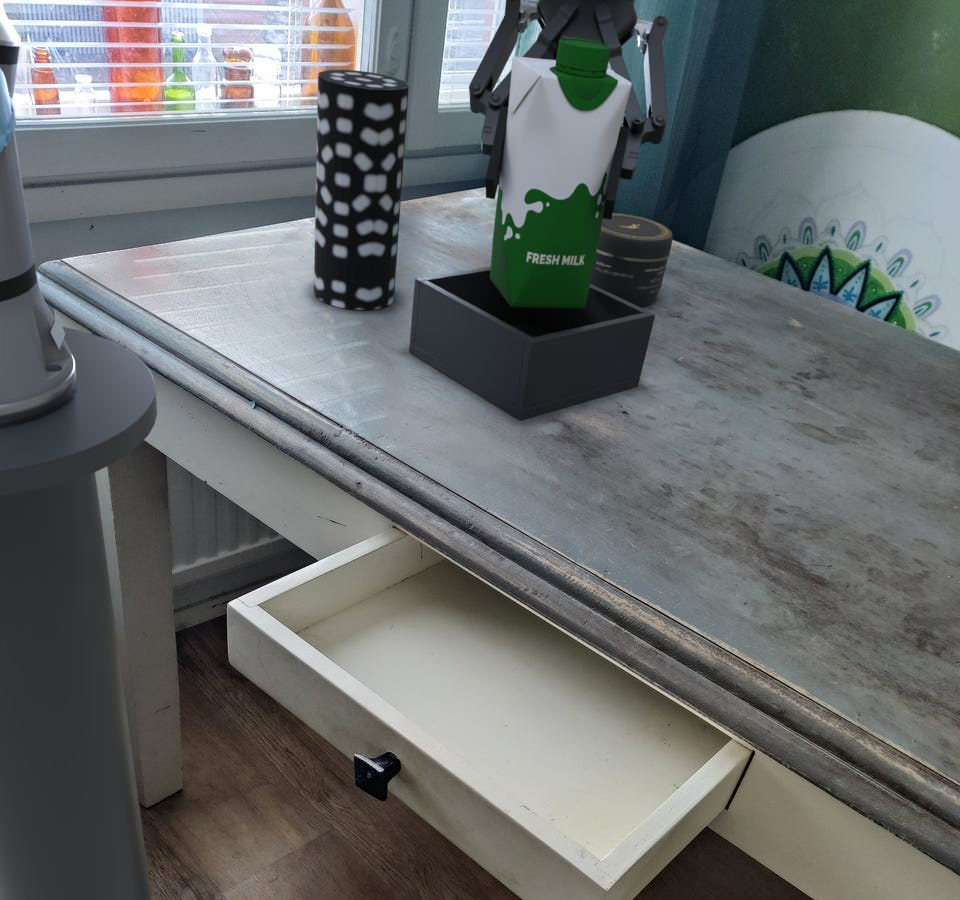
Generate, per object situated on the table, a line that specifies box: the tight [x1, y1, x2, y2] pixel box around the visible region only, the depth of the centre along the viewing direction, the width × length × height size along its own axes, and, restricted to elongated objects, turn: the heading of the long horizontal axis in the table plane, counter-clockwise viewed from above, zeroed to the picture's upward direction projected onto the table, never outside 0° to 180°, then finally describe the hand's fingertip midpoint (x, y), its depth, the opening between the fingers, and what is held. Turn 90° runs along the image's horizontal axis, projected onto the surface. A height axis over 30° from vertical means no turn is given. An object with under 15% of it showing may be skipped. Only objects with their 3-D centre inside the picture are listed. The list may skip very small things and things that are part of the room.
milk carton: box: [490, 38, 633, 309], centre depth 83 cm, size 9×9×20 cm
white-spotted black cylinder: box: [313, 69, 410, 311], centre depth 97 cm, size 8×8×20 cm
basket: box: [408, 266, 656, 421], centre depth 91 cm, size 16×16×7 cm
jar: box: [590, 212, 674, 308], centre depth 111 cm, size 10×10×8 cm
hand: (549, 199), depth 81 cm, fingers closed on milk carton, 9 cm apart
